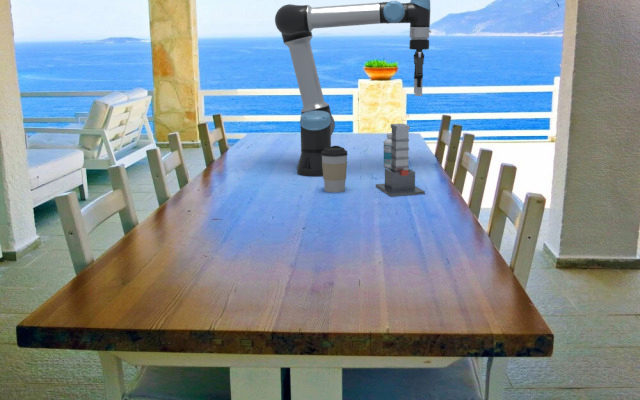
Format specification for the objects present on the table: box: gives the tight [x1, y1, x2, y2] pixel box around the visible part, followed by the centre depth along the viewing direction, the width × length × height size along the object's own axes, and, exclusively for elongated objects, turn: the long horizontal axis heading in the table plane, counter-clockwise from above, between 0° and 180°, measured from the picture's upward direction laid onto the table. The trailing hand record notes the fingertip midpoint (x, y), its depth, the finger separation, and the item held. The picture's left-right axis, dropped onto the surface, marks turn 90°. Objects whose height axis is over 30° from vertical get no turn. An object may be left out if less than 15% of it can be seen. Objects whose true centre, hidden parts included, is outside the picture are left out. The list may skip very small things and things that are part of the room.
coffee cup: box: [321, 145, 348, 193], centre depth 235 cm, size 9×9×15 cm
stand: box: [375, 168, 426, 197], centre depth 233 cm, size 12×16×8 cm
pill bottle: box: [383, 132, 392, 169], centre depth 275 cm, size 8×7×14 cm
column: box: [390, 123, 411, 172], centre depth 232 cm, size 4×6×21 cm
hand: (417, 94), depth 270 cm, fingers open, 13 cm apart
